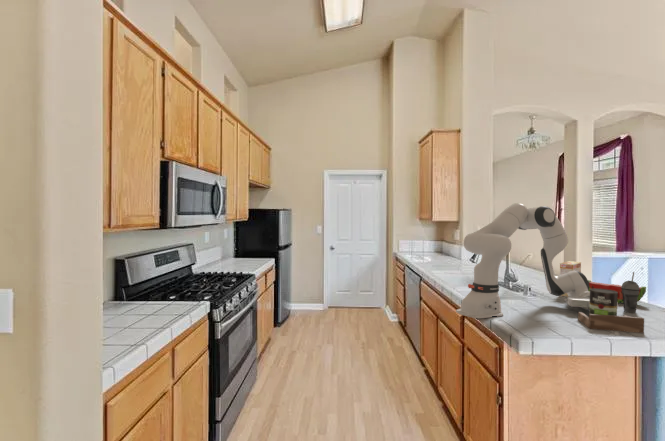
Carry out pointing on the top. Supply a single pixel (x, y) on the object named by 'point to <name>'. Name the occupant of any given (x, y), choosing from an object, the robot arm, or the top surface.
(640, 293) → the fruit slice
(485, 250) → the robot arm
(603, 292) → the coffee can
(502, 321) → the top surface
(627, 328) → the box
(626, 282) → the beverage cup
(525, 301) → the top surface
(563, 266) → the coffeecake box
